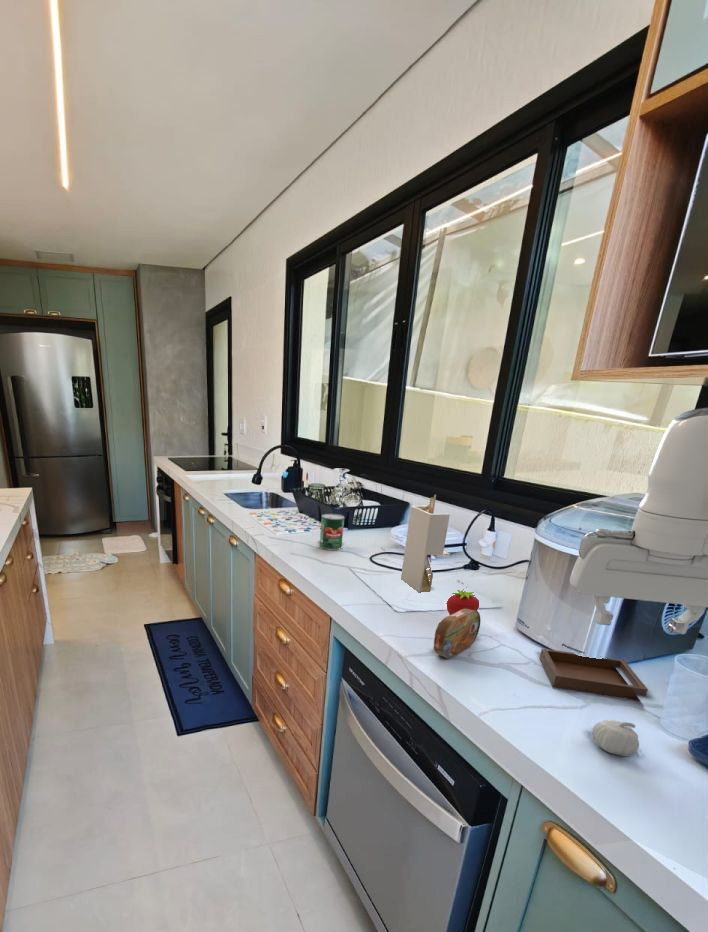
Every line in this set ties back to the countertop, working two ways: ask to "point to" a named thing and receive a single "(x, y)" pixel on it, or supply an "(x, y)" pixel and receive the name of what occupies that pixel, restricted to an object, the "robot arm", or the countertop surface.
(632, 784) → the countertop surface
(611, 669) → the tray
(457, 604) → the strawberry
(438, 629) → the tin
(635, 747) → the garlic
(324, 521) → the canned tomato
